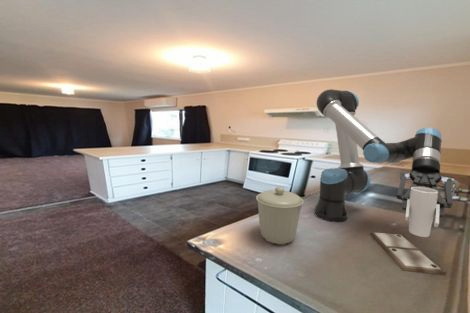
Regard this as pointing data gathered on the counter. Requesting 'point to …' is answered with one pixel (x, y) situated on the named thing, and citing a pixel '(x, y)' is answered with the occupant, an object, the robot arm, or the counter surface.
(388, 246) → the coaster board
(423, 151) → the robot arm
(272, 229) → the canister
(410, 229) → the white cup
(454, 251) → the counter surface
